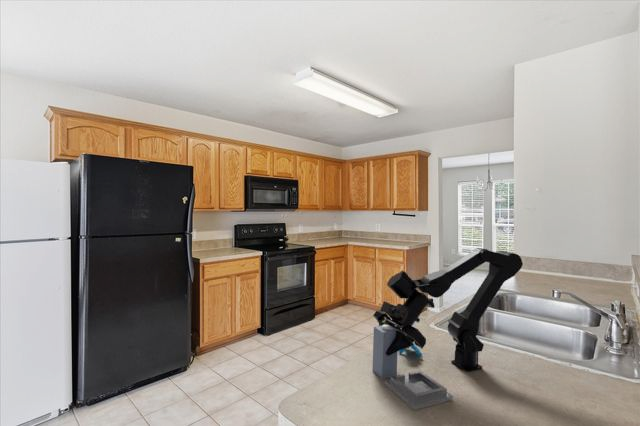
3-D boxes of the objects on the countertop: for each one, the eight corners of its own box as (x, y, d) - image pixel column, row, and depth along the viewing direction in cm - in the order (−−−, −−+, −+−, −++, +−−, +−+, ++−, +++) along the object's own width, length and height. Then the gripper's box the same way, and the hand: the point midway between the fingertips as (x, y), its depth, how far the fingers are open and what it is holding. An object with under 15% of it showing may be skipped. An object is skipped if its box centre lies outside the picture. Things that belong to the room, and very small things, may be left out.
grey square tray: (420, 376, 91) (420, 368, 91) (452, 400, 80) (452, 390, 80) (385, 384, 86) (385, 375, 86) (414, 410, 75) (414, 399, 75)
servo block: (386, 367, 96) (388, 322, 96) (396, 375, 91) (398, 328, 91) (372, 370, 94) (373, 324, 94) (382, 378, 89) (383, 330, 89)
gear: (426, 357, 100) (403, 332, 102) (412, 370, 100) (390, 344, 102) (420, 347, 111) (399, 325, 113) (407, 359, 111) (387, 336, 113)
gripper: (378, 285, 103) (348, 323, 98) (419, 300, 86) (384, 347, 81) (397, 307, 106) (368, 344, 101) (440, 325, 89) (408, 372, 84)
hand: (380, 350), depth 92 cm, fingers closed on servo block, 5 cm apart
